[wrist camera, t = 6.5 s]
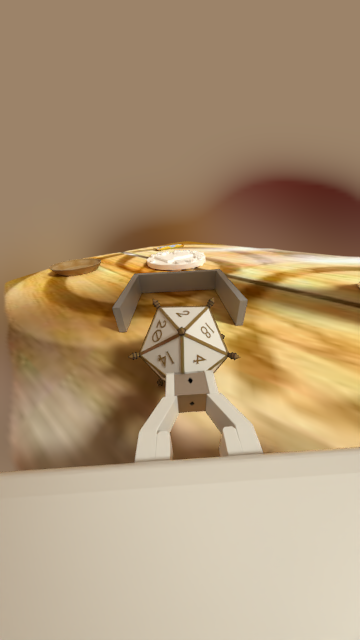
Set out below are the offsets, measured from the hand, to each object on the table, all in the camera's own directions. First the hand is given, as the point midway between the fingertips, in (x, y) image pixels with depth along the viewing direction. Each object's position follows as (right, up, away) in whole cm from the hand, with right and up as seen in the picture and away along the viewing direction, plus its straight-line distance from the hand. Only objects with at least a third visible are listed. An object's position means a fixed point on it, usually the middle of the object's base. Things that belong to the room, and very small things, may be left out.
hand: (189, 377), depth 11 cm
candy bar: (-6, +40, +72) cm, 83 cm away
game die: (0, -2, +6) cm, 7 cm away
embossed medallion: (-2, +23, +46) cm, 52 cm away
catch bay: (-1, +6, +19) cm, 20 cm away
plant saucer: (-34, +20, +43) cm, 58 cm away
